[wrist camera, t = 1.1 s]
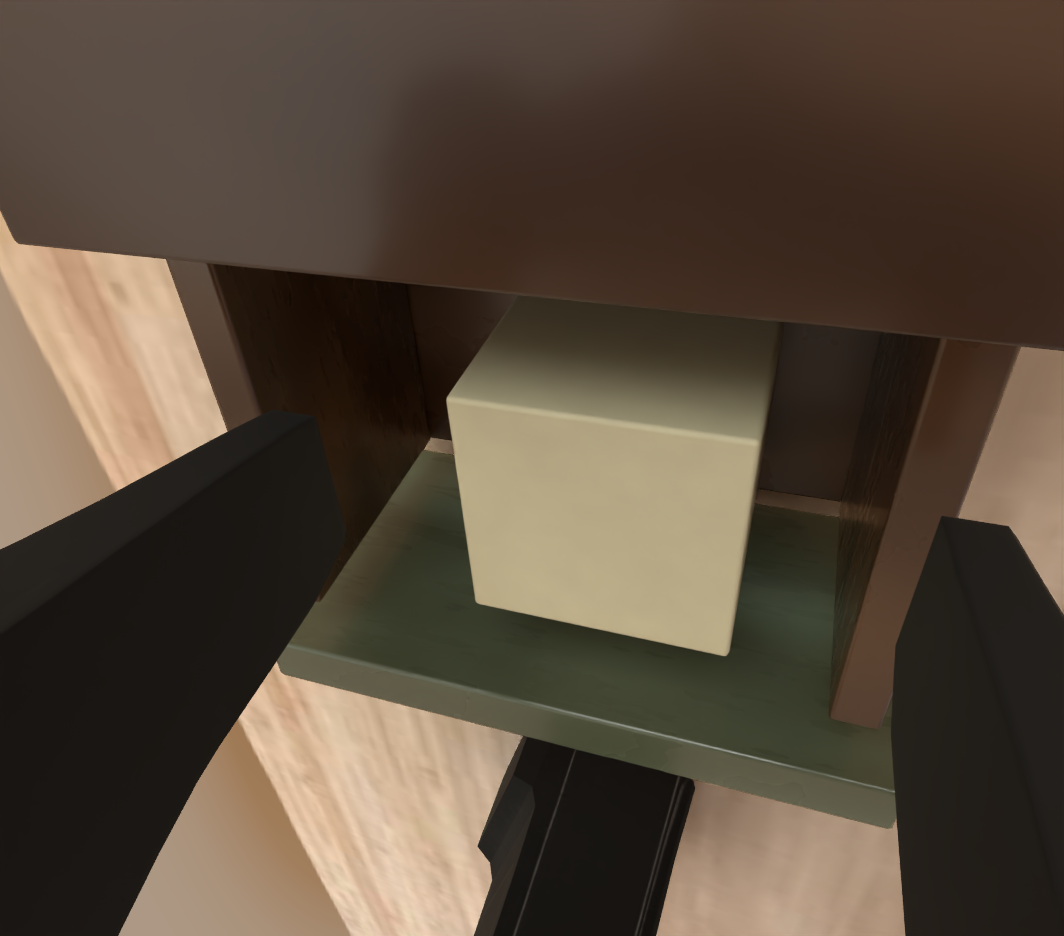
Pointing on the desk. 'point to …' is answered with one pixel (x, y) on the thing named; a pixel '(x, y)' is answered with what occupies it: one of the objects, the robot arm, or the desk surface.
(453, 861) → the desk surface
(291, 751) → the desk surface
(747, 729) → the drawer
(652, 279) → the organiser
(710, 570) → the note cube
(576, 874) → the portable radio
